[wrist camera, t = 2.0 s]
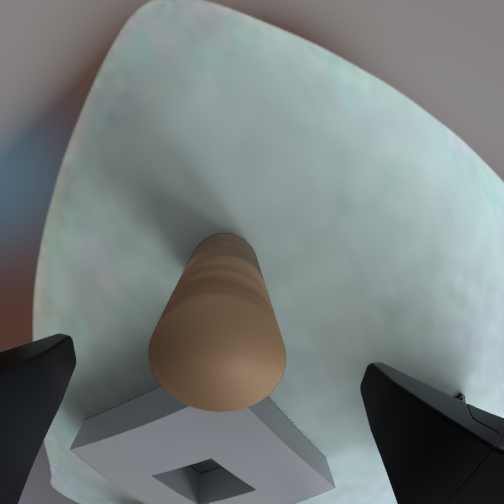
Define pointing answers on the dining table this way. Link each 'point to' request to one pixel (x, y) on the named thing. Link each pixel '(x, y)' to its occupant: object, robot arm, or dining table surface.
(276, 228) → the dining table surface
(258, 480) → the socket
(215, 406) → the peg
